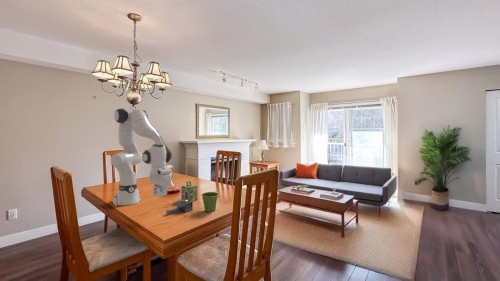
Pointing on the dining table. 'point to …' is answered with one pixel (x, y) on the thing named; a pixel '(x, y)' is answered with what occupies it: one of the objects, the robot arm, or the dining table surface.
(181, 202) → the coupler
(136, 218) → the dining table surface
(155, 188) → the lock block
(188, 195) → the green patterned lantern
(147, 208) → the dining table surface
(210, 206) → the plant pot
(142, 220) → the dining table surface
